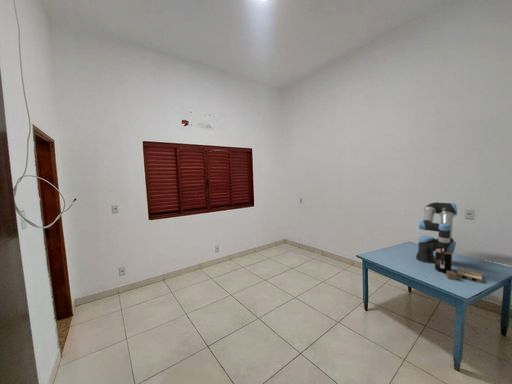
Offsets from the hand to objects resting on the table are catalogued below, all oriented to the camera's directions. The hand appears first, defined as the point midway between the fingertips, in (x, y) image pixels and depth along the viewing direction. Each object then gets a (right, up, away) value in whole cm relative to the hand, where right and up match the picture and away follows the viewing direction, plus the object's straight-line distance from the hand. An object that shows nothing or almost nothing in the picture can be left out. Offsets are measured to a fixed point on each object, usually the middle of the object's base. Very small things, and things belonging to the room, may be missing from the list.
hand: (443, 265), depth 181 cm
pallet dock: (+11, -5, -11) cm, 17 cm away
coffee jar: (0, -5, 0) cm, 5 cm away
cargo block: (-4, -6, -12) cm, 14 cm away
